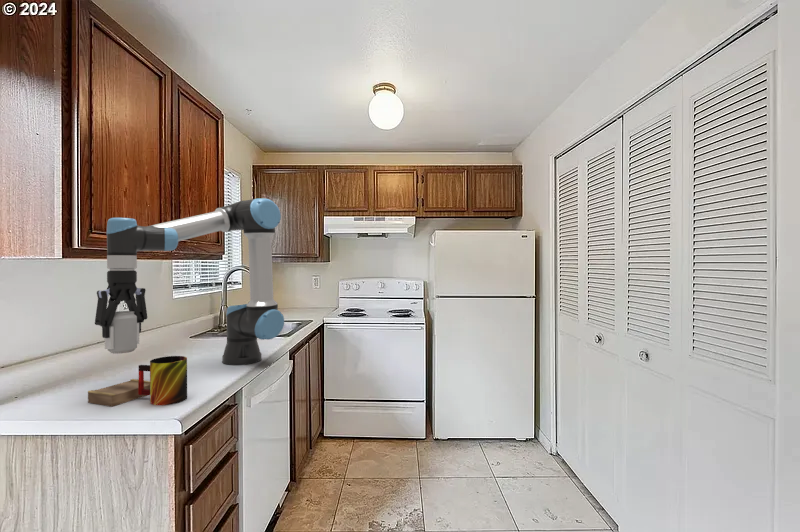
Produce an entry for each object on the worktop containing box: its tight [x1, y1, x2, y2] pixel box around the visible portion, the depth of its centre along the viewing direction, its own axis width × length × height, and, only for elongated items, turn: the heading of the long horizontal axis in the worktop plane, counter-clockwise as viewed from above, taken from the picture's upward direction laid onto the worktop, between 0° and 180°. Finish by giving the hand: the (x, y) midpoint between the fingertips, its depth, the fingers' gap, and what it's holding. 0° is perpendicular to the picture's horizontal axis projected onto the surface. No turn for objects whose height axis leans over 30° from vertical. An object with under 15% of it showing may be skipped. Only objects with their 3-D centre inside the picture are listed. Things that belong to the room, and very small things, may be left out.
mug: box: [138, 355, 188, 406], centre depth 128 cm, size 10×14×12 cm
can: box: [107, 310, 138, 355], centre depth 131 cm, size 8×8×12 cm
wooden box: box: [87, 378, 150, 407], centre depth 131 cm, size 14×10×3 cm
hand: (122, 346), depth 131 cm, fingers closed on can, 7 cm apart
